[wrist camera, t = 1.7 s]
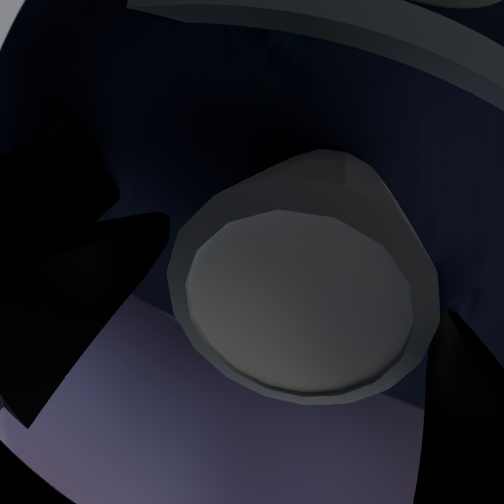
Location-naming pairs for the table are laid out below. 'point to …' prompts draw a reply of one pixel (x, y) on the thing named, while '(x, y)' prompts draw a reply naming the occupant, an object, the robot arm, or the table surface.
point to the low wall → (364, 33)
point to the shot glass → (306, 282)
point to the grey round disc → (455, 3)
